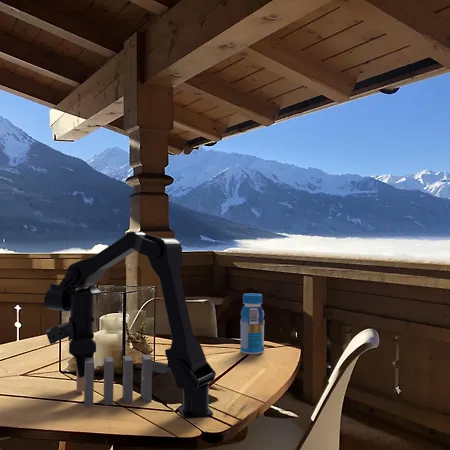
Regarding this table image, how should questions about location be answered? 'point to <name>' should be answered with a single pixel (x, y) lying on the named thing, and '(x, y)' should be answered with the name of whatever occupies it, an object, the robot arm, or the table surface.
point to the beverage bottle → (252, 324)
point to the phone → (160, 367)
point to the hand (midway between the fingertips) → (80, 374)
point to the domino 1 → (80, 383)
